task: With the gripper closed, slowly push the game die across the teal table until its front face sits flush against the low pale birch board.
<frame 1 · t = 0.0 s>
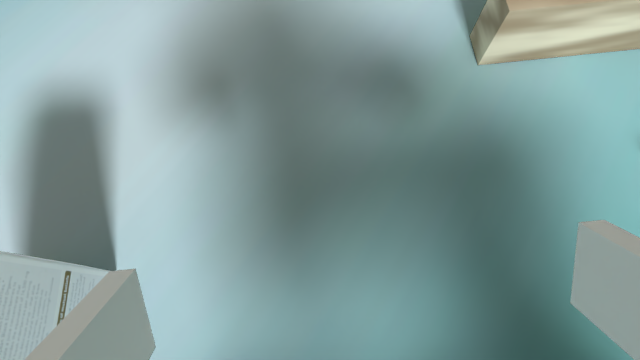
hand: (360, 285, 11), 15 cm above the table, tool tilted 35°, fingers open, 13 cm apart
syrup box: (71, 314, 26), on the table
birch board: (637, 33, 33), on the table
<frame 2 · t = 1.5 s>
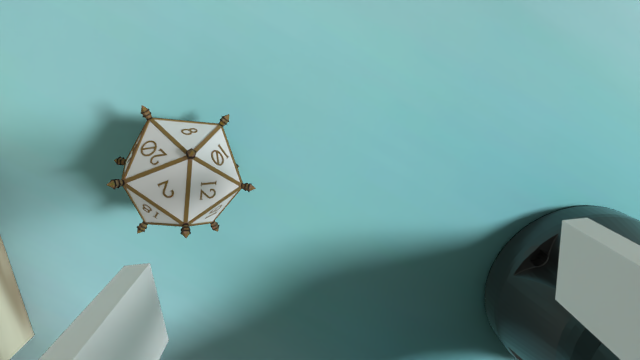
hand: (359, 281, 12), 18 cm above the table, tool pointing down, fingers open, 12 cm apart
game die: (199, 159, 29), on the table
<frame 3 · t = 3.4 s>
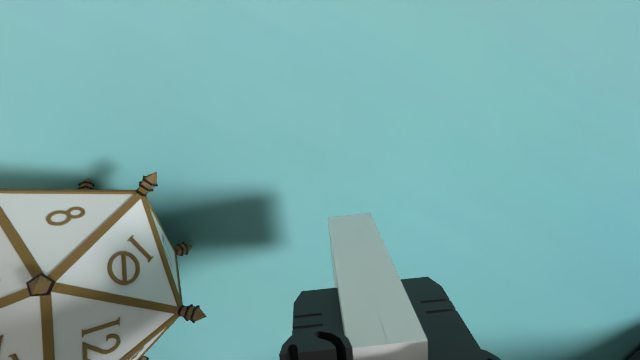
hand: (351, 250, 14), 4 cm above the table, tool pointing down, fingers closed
game die: (125, 236, 17), on the table
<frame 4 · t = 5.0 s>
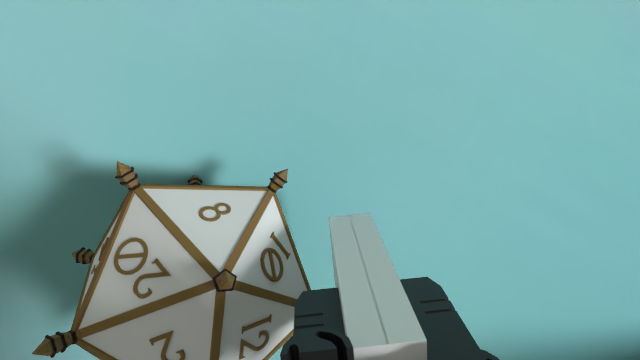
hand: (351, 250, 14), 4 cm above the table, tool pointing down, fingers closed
game die: (225, 234, 17), on the table, touching gripper
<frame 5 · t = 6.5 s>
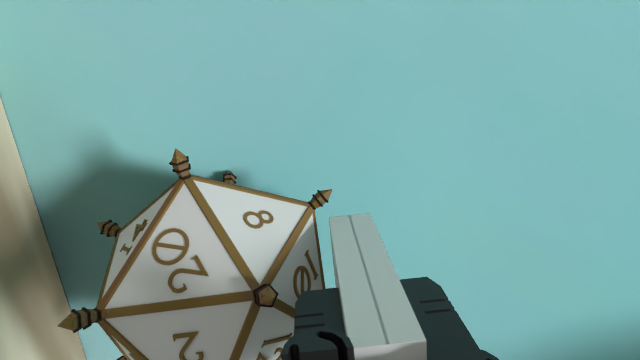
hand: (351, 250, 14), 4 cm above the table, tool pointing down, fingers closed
game die: (245, 233, 17), on the table, touching gripper
birch board: (17, 255, 17), on the table
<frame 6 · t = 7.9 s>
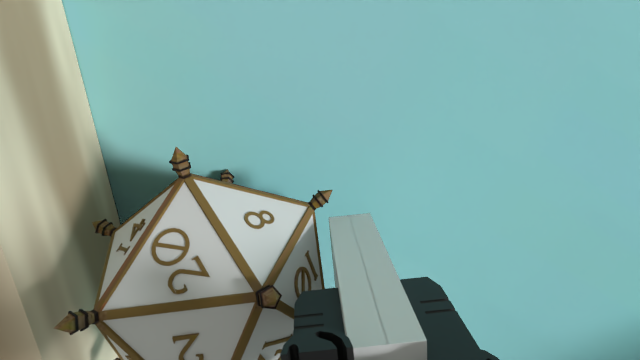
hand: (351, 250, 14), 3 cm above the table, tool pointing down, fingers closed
game die: (241, 233, 17), on the table, touching gripper
birch board: (90, 243, 17), on the table
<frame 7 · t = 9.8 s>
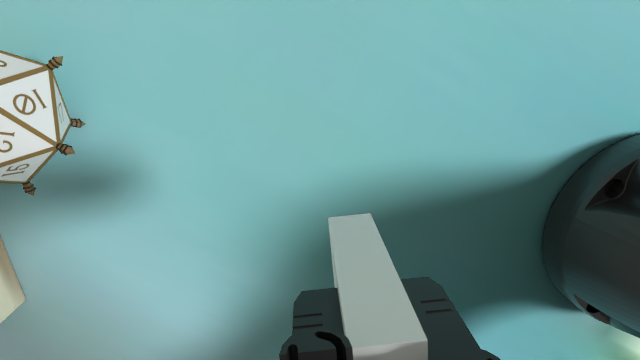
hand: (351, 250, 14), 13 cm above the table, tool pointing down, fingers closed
game die: (37, 105, 24), on the table
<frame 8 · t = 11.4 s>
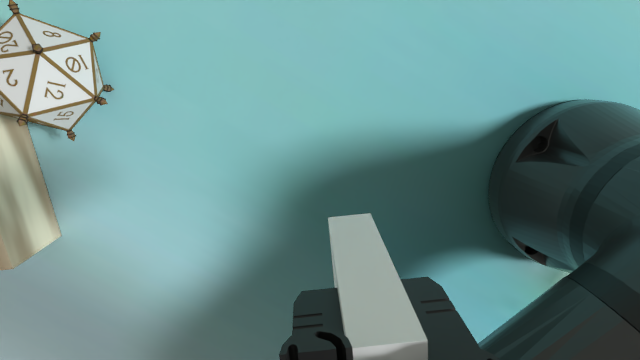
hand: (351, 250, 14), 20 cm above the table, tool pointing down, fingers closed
game die: (78, 74, 31), on the table
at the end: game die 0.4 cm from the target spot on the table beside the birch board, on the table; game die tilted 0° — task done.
